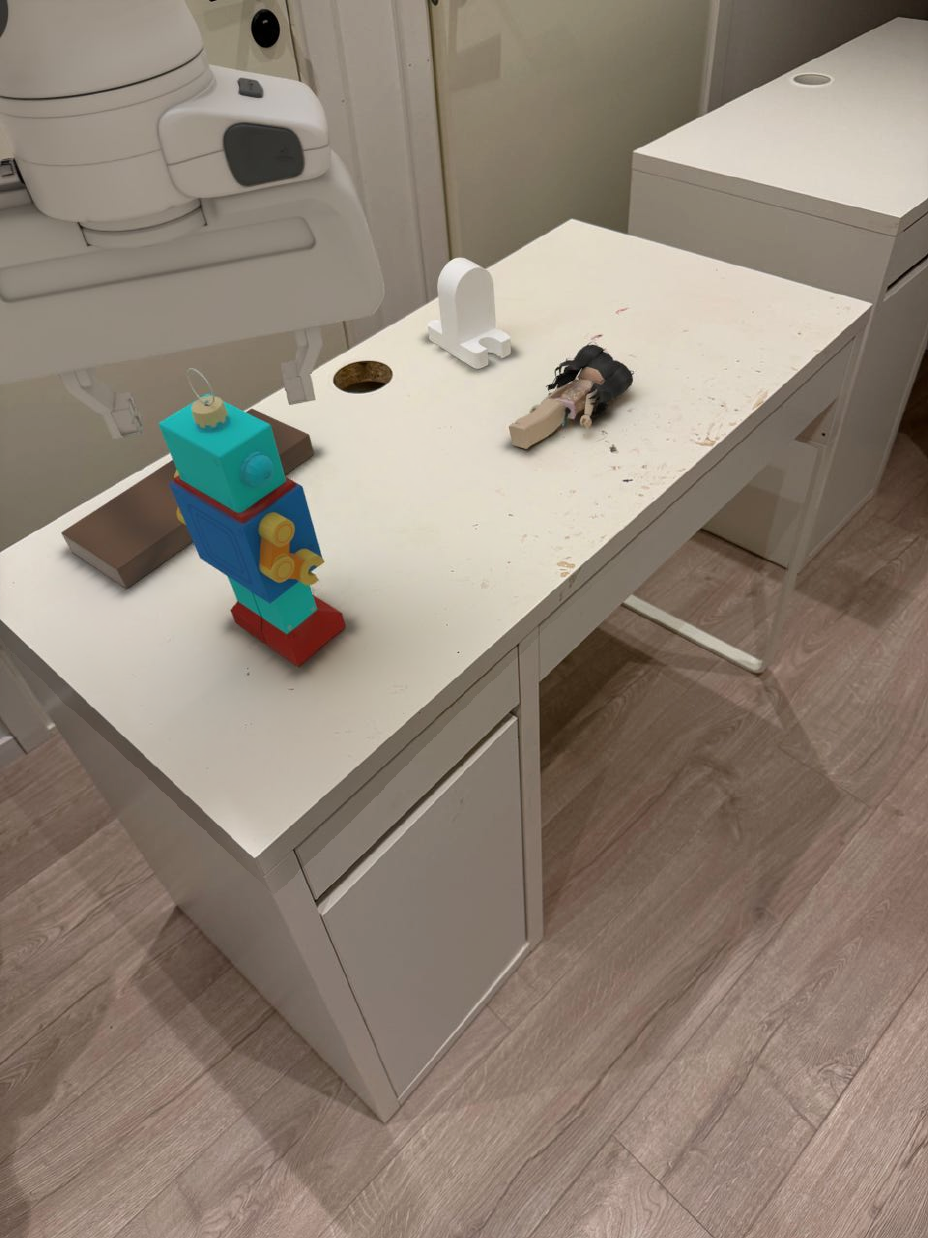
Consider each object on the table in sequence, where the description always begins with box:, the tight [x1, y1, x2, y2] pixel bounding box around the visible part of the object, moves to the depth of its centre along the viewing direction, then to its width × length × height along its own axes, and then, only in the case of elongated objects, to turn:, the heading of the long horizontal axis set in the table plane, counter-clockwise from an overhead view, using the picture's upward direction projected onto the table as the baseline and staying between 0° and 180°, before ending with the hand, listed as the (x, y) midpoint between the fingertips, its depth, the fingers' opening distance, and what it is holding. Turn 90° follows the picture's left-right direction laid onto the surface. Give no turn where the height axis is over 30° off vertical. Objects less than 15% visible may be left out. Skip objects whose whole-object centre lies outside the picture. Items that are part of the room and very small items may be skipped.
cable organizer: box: [427, 257, 512, 370], centre depth 101 cm, size 5×10×10 cm, turn 37°
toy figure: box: [508, 341, 635, 450], centre depth 91 cm, size 7×6×15 cm
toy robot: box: [158, 367, 346, 667], centre depth 66 cm, size 12×6×25 cm, turn 49°
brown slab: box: [60, 408, 315, 590], centre depth 87 cm, size 24×9×2 cm, turn 141°
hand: (216, 414), depth 48 cm, fingers open, 8 cm apart
